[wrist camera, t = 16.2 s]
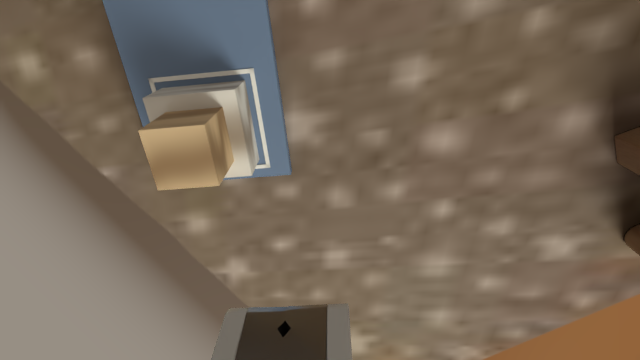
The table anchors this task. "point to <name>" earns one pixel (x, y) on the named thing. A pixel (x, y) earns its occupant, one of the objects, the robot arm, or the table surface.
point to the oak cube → (188, 148)
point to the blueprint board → (205, 59)
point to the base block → (215, 96)
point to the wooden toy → (636, 155)
